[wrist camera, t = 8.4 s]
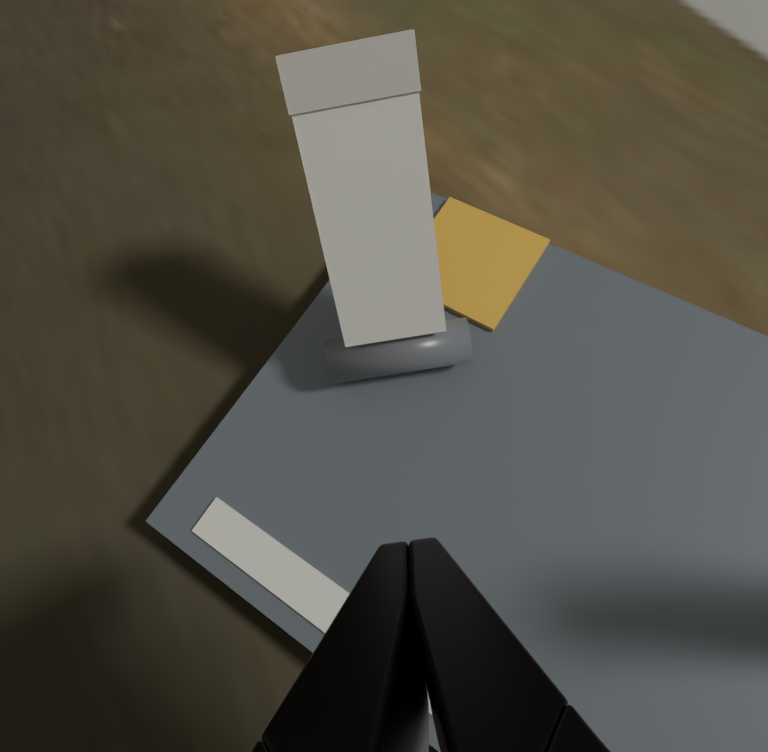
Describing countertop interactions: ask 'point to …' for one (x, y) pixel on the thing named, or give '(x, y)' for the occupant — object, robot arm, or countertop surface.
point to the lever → (373, 205)
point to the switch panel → (523, 484)
